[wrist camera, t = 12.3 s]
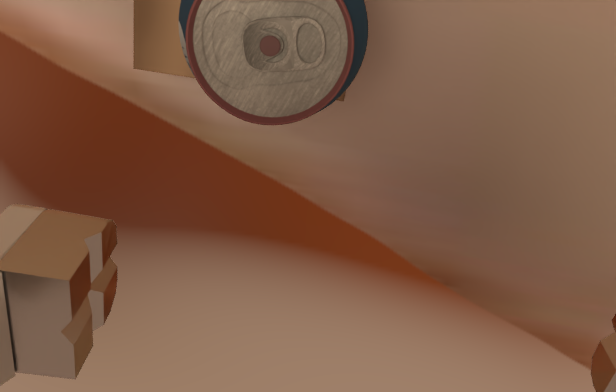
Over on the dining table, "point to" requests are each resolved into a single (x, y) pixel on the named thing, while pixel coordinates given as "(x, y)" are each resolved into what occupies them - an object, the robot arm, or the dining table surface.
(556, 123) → the dining table surface
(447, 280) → the dining table surface
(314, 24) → the soda can
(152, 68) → the block
